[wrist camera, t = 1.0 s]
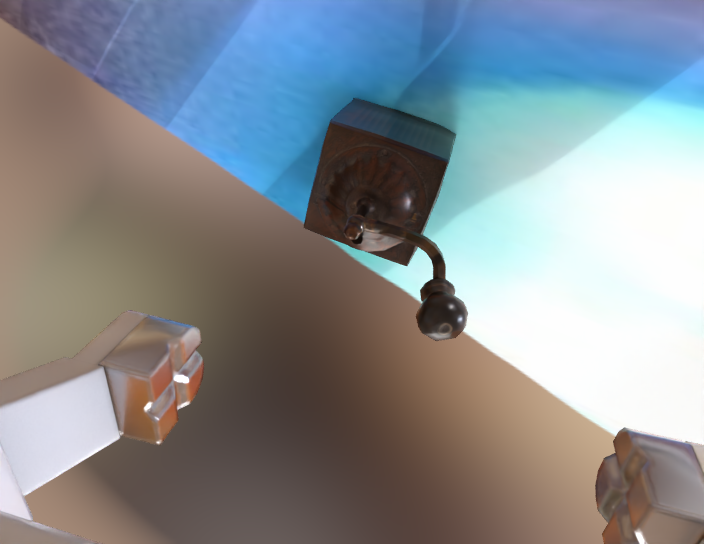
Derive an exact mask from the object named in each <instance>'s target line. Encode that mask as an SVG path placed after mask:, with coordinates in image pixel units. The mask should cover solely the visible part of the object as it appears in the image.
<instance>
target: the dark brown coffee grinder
mask: <svg viewBox="0 0 704 544" xmlns="http://www.w3.org/2000/svg"><path fill="white" fill-rule="evenodd" d="M455 137H456V134H455V133H453V132H452V131H450V130H448V129H446V128H444V127H443V126H441V125H438V124H436V123H433V122H430V121H427V120H424V119H422V118H419V117H416V116H413V115H410V114H407V113H404V112H401V111H398V110H395V109H391V108H388V107H384V106H381V105H378V104H374V103H371V102H367V101H364V100H360V99H357V98H353V100H352V101H351V102H350V103H349V104H348V105H347V106H345V107H344V108H343V109H342V110H341V111H340V112H339V113H338V114H337V115H336V116H335V117H334V118H333V119H331V120H330V124H329V127H328V130H327V133H326V136H325V139H324V142H323V146H322V150H321V154H320V158H319V162H318V166H317V170H316V174H315V178H314V182H313V186H312V190H311V195H310V199H309V203H308V208H307V213H306V218H305V223H304V228H305V229H308V230H310V231H313V232H315V233H318V234H320V235H323V236H325V237H328V238H330V239H333V240H336V241H338V242H341V243H344V244H346V245H348V246H350V247H352V248H355V249H358V250H363V251H365V252H368V253H371V254H374V255H376V256H379V257H382V258H385V259H387V260H390V261H393V262H396V263H399V264H402V265H404V266H408V264H409V262H410V260H411V259H412V257H413V255H414V253H415V252H416V250H417V247H419V248H420V249H422V250H423V251H425V252H426V253H427V254H428V256H429V257H430V259H431V260H432V264H433V279H432V280H430V281H428V282H427V283H425V284H424V286H423V287H422V288H421V290H420V293H421V301H422V302H423V303H422V304H421V306H420V308H419V310H418V311H417V314H416V319H417V323H418V327H419V329H420V330H421V332H422V333H423V334H425V335H426V336H428V337H430V338H431V339H433V340H435V341H439V340H445V339H452V338H456V337H457V336H458V335H459V334H460V333H461V332H462V331H463V329H464V328H465V326H466V321H467V315H468V312H467V309H466V306H465V304H464V302H463V301H461V300H460V299H458V298H457V297H455V296H454V294H455V289H454V286H453V284H451V283H450V282H449V281H447V280H446V279H445V262H444V258H443V255H442V253H441V251H440V250H439V248H438V247H437V245H436V244H435V243H434V242H432V241H431V240H430V239H428V238H427V237H425V236H424V235H423V232H424V230H425V227H426V225H427V222H428V220H429V217H430V215H431V212H432V210H433V208H434V205H435V203H436V201H437V198H438V196H439V193H440V190H441V186H442V183H443V179H444V176H445V172H446V169H447V166H448V164H449V160H450V156H451V152H452V148H453V145H454V141H455Z"/></svg>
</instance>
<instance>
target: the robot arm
mask: <svg viewBox="0 0 704 544" xmlns="http://www.w3.org/2000/svg"><path fill="white" fill-rule="evenodd" d="M201 343H202V342H201V335H200V330H199V329H198V328H196V327H195V326H191V325H187V324H184V323H179V322H176V321H172V320H168V319H164V318H161V317H156V316H153V315H152V316H150V315H147V314H143V313H139V312H136V311H132V310H129V311H126V312H123V313H121V314H120V315H119V316H118V317H117V318H116V319H115V320H114V321H113V322H111V323H110V324H109V325H108V326H107V327H106V328H105V329H104V330H103V331H102V332H100V333H99V334H98V335H97V336H96V337H95V338H94V339H93V340H92V341H91V342H90V343H88V344H87V345H86V346H85V347H84V348H83V349H82V350H81V351H80V352H79V353H78V354H76V355H75V356H74V357H73V358H67V357H63V358H61V359H58V360H55V361H52V362H50V363H47V364H44V365H41V366H39V367H36V368H33V369H30V370H27V371H25V372H22V373H19V374H16V375H13V376H10V377H8V378H5V379H3V380H0V544H103V543H99V542H96V541H93V540H90V539H87V538H83V537H80V536H78V535H74V534H71V533H68V532H65V531H62V530H59V529H55V528H53V527H49V526H46V525H43V524H40V523H37V522H34V521H33V516H32V514H31V511H30V509H29V507H28V504H27V502H26V500H25V498H24V496H25V495H27V494H29V493H30V492H32V491H33V490H35V489H37V488H39V487H40V486H42V485H43V484H45V483H47V482H48V481H50V480H52V479H53V478H55V477H57V476H58V475H60V474H62V473H63V472H65V471H66V470H68V469H70V468H72V467H73V466H75V465H76V464H78V463H79V462H81V461H83V460H85V459H86V458H88V457H90V456H91V455H93V454H95V453H96V452H98V451H100V450H101V449H103V448H105V447H106V446H108V445H109V444H111V443H113V442H114V441H116V440H118V439H119V438H120V436H124V437H128V438H132V439H136V440H140V441H144V442H148V443H152V444H156V445H161V444H162V442H163V441H164V439H165V438H166V437H167V435H168V434H169V432H170V431H171V430H172V428H173V427H174V425H175V424H176V423H177V421H178V412H177V410H178V409H180V408H182V407H184V406H185V405H188V404H190V403H191V401H192V400H193V398H194V397H195V395H196V394H197V392H198V389H199V387H200V384H201V382H202V378H203V371H204V366H203V365H204V364H203V358H202V357H201V356H200V354H199V353H198V352H197V351H196V349H197V348H198V347H199V345H200V344H201ZM613 443H614V447H615V452H616V453H614V454H612V455H610V456H608V457H605V458H604V460H603V462H602V464H601V466H600V468H599V470H598V474H597V480H596V485H595V486H596V502H597V509H598V511H599V512H600V514H601V515H602V516H603V517H604V519H605V520H606V521H607V522H608V525H607V526H606V528H605V530H604V531H603V533H602V536H603V542H604V544H704V445H701V444H696V443H692V442H687V441H685V442H684V441H682V440H677V439H673V438H668V437H664V436H660V435H655V434H651V433H646V432H642V431H638V430H633V429H629V428H623V429H622V430H620V431H619V432H618V434H617V436H616V437H615V439H614V441H613Z"/></svg>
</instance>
